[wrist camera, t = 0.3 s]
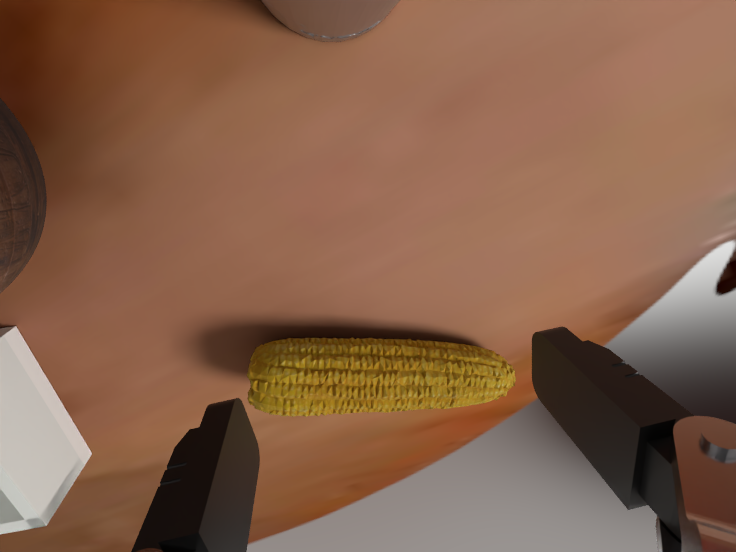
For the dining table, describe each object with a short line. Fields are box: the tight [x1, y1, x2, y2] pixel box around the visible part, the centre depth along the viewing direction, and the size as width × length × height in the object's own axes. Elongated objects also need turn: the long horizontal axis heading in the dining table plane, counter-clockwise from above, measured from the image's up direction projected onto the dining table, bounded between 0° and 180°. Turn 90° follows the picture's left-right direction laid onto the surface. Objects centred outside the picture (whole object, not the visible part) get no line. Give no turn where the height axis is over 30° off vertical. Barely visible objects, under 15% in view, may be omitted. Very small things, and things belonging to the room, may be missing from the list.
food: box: [247, 337, 516, 417], centre depth 30 cm, size 21×6×6 cm, turn 86°
